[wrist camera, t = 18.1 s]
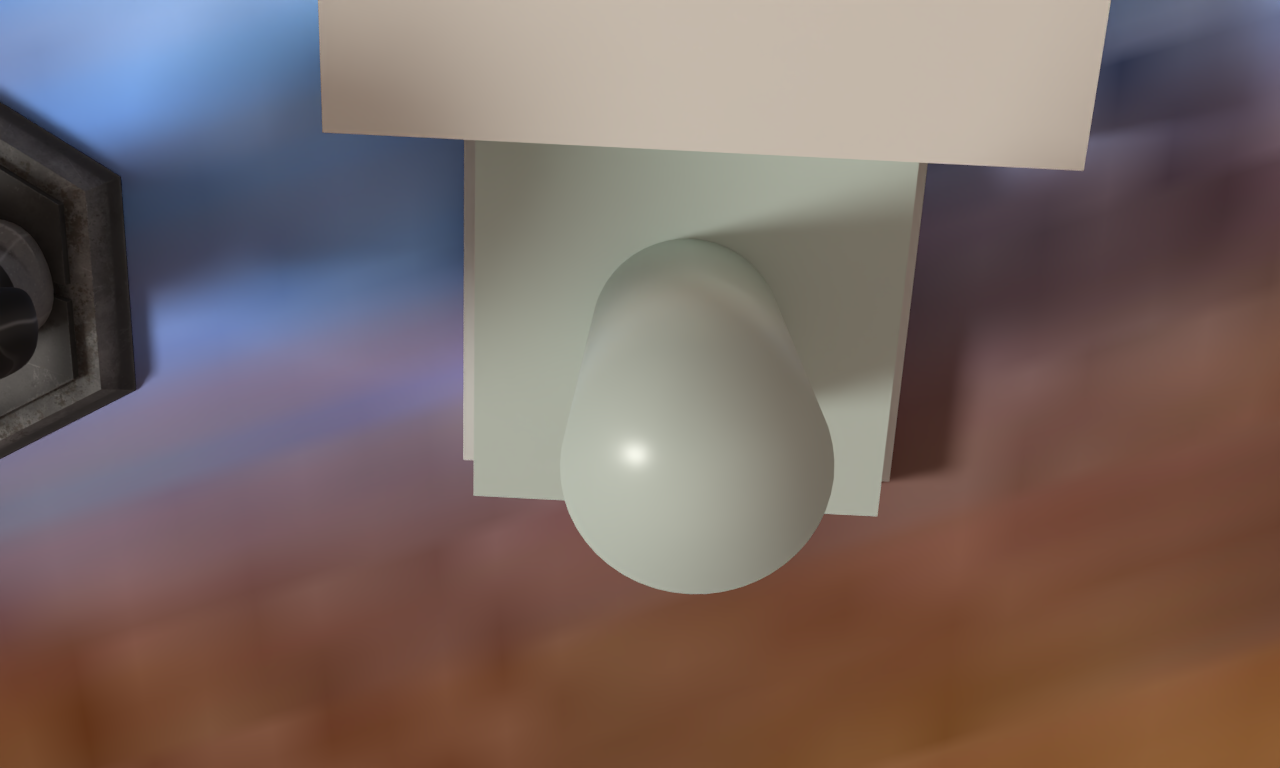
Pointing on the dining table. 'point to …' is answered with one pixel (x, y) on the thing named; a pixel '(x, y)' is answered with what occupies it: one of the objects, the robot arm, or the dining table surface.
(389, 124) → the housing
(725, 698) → the dining table surface
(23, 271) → the figurine
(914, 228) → the pad
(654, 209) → the cover
